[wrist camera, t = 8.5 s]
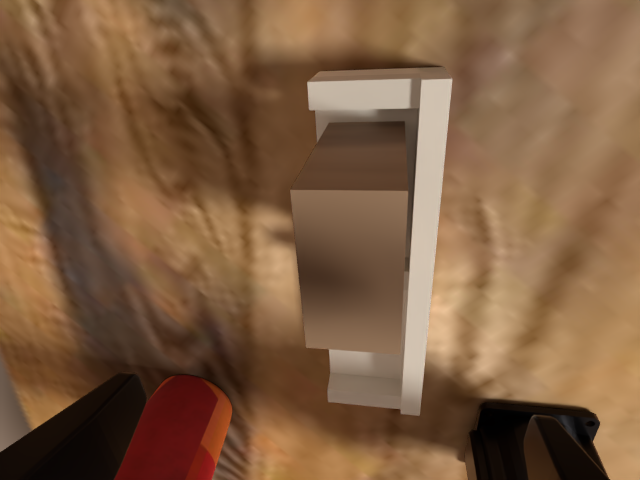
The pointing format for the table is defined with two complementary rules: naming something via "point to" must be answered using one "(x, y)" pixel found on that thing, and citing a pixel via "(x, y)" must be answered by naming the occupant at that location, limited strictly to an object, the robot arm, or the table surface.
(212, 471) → the paper cup
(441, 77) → the white tray base
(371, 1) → the table surface
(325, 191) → the tall taupe pillar block
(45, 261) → the table surface
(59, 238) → the table surface
